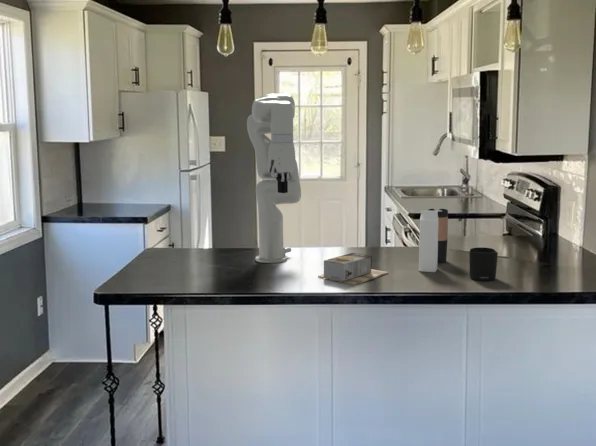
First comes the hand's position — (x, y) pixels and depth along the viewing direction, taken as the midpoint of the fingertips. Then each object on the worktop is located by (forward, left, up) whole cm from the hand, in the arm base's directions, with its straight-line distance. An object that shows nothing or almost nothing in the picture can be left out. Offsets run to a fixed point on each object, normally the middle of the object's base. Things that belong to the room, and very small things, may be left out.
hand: (282, 192), depth 236 cm
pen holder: (-43, +54, -30) cm, 76 cm away
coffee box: (-7, +17, -26) cm, 32 cm away
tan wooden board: (-18, +17, -30) cm, 39 cm away
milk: (-42, +33, -30) cm, 62 cm away
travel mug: (-57, +28, -30) cm, 70 cm away
